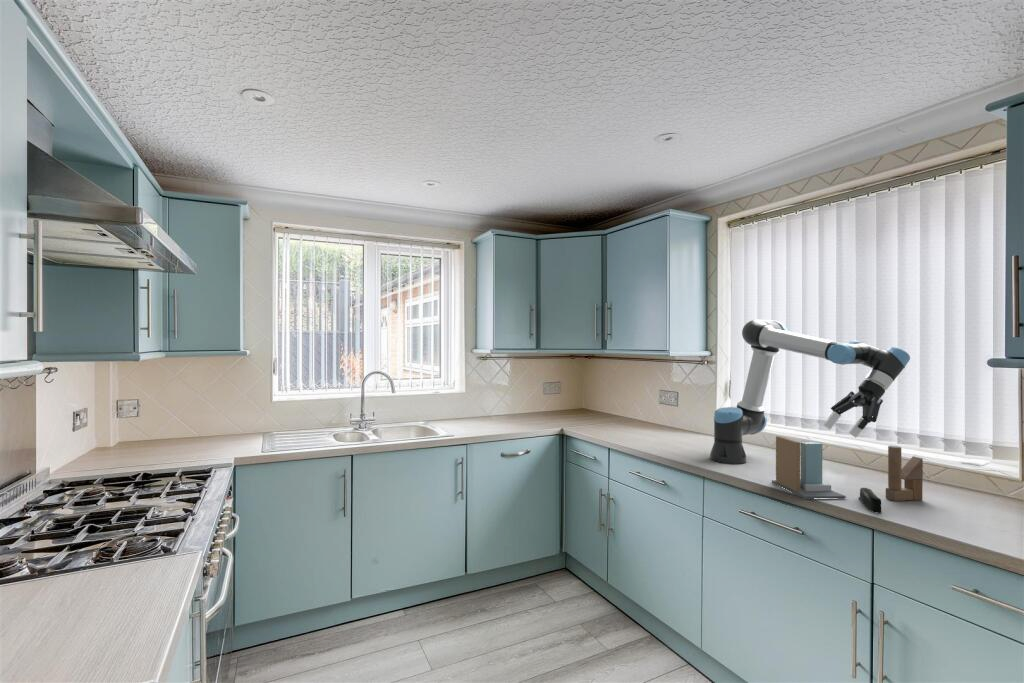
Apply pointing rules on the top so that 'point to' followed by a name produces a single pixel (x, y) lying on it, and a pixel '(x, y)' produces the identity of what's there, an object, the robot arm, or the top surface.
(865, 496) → the black stapler
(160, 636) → the top surface
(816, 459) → the door panel
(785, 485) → the stand
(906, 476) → the wooden block
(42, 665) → the top surface
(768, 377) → the robot arm
